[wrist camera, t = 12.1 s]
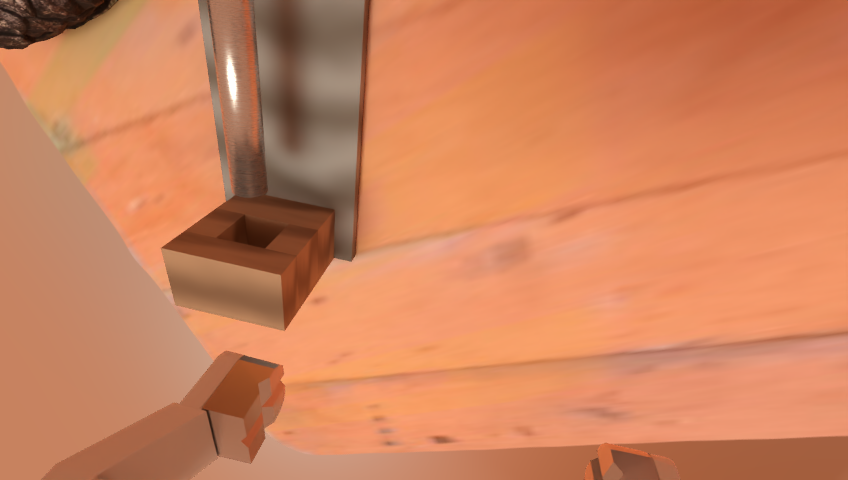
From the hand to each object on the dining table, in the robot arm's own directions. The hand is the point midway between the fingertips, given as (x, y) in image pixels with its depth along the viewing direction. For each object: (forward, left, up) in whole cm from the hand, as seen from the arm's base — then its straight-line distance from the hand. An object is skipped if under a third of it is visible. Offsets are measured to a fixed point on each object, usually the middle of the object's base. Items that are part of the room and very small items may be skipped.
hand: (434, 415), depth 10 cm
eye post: (+1, -18, -29) cm, 34 cm away
